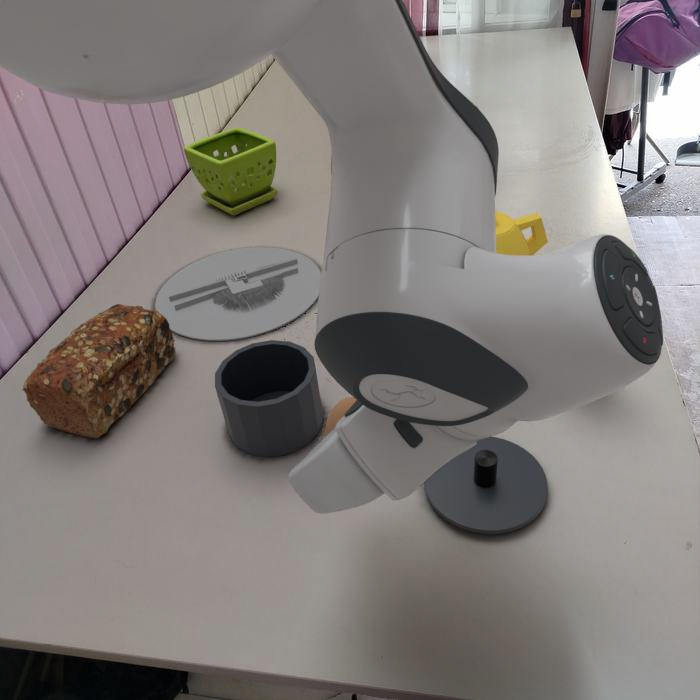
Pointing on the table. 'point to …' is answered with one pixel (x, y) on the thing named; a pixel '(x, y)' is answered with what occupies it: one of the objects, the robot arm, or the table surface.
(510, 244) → the teapot
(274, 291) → the plate
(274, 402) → the pot
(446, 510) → the lid
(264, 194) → the flower pot
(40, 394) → the bread
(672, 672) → the table surface
